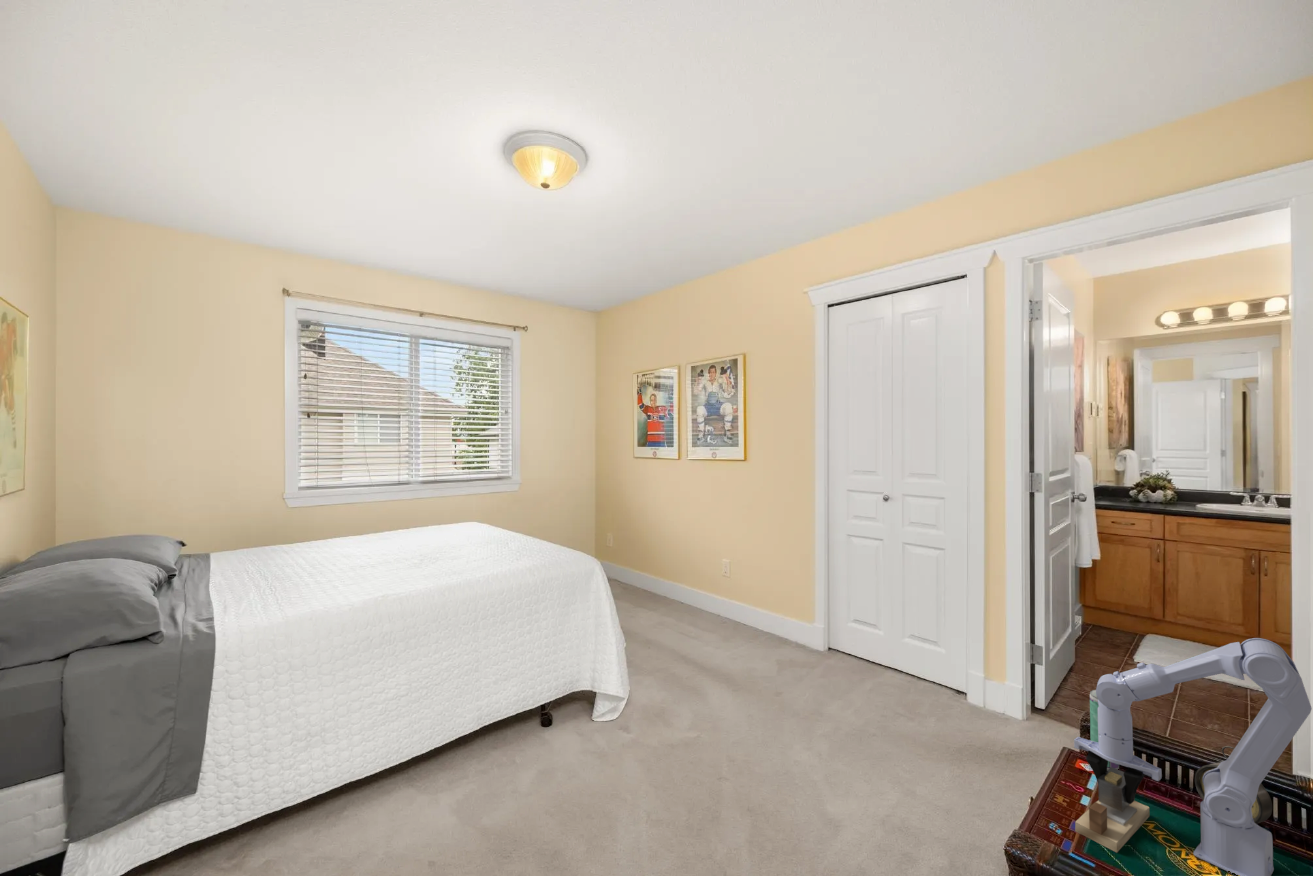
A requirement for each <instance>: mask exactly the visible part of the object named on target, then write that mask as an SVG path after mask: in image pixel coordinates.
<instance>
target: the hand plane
mask: <svg viewBox="0 0 1313 876" xmlns="http://www.w3.org/2000/svg"><path fill="white" fill-rule="evenodd" d="M1149 818H1150V807H1149V806H1148V805H1146V804H1143V803H1140V802H1138V801H1136V800H1134V801H1133V802H1132V804H1130V805H1129V806H1128V807H1127V808H1126V809H1125V810H1124V811H1123V812H1121V811H1119V810H1116V809H1114V808H1112V807H1110V806H1108V805H1106V804H1103V803H1101V802H1099V799H1098V800H1097V801H1095V802H1094V803H1092V804H1091V805H1090V806H1089V807H1088V809H1087V810H1086V811H1085V812H1084V813H1083V814H1082V815H1081V816H1079V818H1078V819H1077V820H1075V823H1074V826H1075V827H1074V830H1075V832H1076V833H1078V834H1080V835H1082V836H1083V837H1086V838H1087V839H1089V840H1092V841H1094V842H1096V843H1097V844H1099V845H1102V846H1103V847H1104V848H1107V849H1109V850H1110V851H1113V852H1115V853H1119V851H1120V850H1121V849H1122V848H1123V847H1124V845H1125V844H1126V843H1127V842H1129V840H1130V839H1131V838H1132V837H1133V835H1134V834H1136V833H1137V831H1138V830H1139V829H1140V828H1141V826H1142V825H1143V824H1144V823H1145V822H1146V821H1147V820H1148V819H1149Z"/></svg>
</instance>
